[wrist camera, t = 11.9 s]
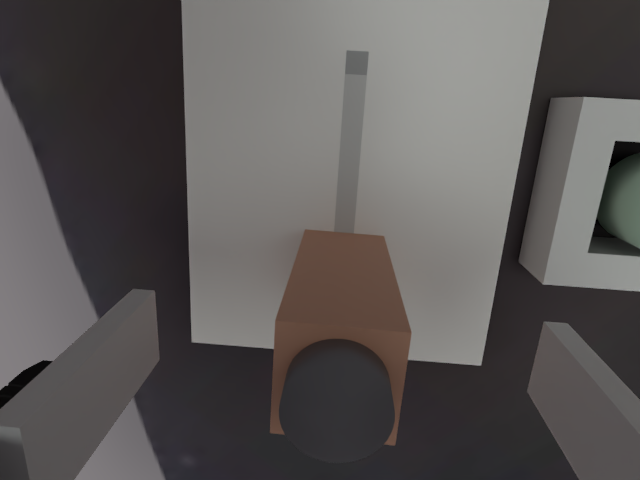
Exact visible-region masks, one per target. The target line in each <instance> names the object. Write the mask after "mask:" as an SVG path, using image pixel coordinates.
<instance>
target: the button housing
mask: <svg viewBox="0 0 640 480" xmlns="http://www.w3.org/2000/svg"><path fill="white" fill-rule="evenodd" d="M615 141H628V142H640V100H629V99H612V98H595V97H564V98H551V100H550V105H549V110H548V115H547V120H546V125H545V130H544V135H543V140H542V145H541V150H540V155H539V160H538V165H537V170H536V175H535V180H534V185H533V190H532V195H531V200H530V205H529V210H528V215H527V220H526V225H525V230H524V235H523V240H522V245H521V250H520V255H519V260H518V262H519V263H520V264H521V265H522V266H523V267H525V268H526V269H527V270H528V271H529V272H530V273H531V274H532V275H533V276H534V277H535V278H537V279H538V280H539V281H540V282H541V283H542V284H546V285H560V286H573V287H587V288H600V289H614V290H627V291H640V249H639V248H637V247H635V246H633V245H631V244H629V243H627V242H625V241H623V240H621V239H619V238H608V237H594V236H592V233H593V229H594V225H595V221H596V217H597V213H598V209H599V205H600V201H601V197H602V193H603V188H604V184H605V180H606V176H607V172H608V168H609V164H610V160H611V156H612V152H613V148H614V144H615Z"/></svg>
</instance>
